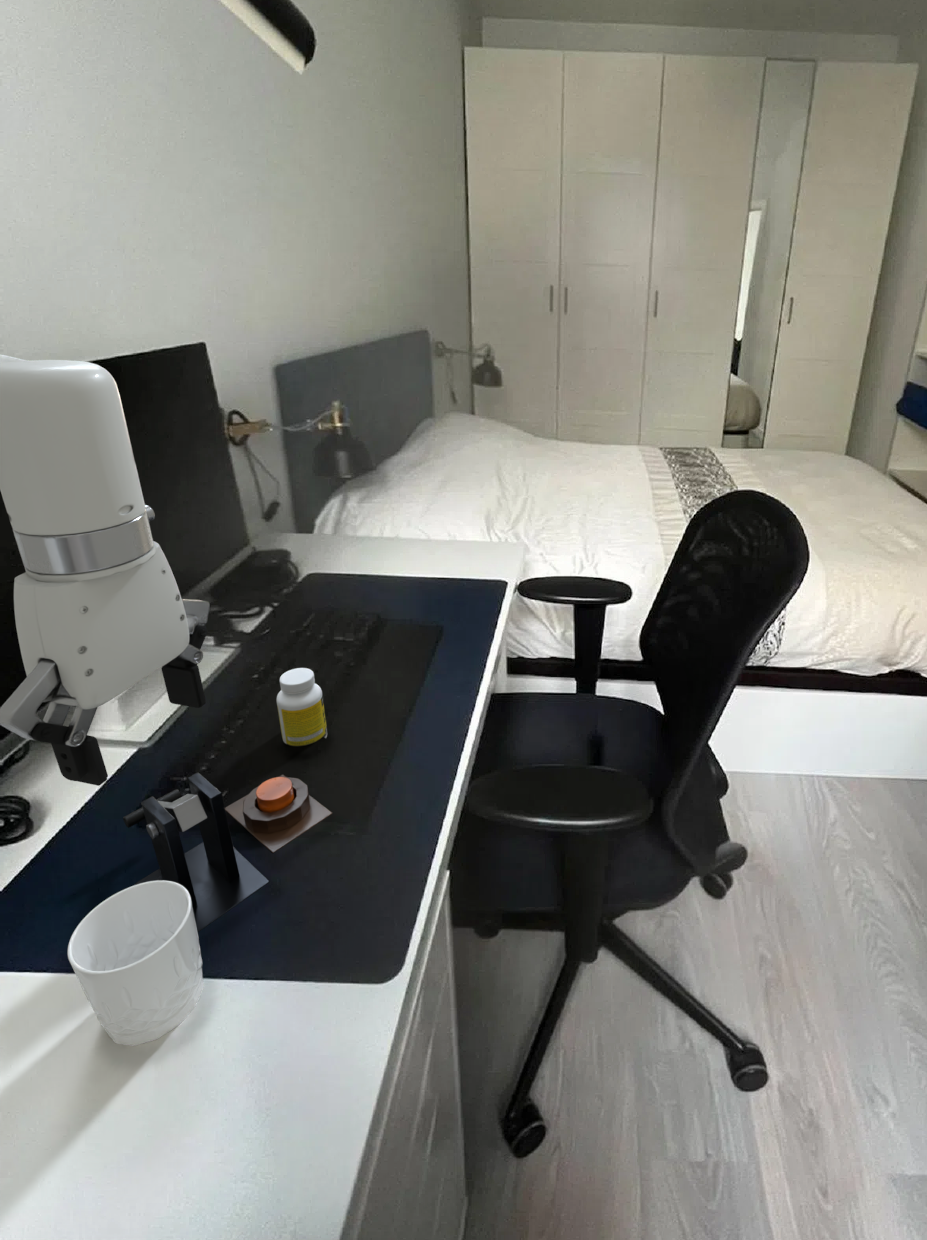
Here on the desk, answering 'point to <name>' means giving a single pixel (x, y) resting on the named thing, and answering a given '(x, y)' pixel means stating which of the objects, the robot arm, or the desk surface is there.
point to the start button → (275, 794)
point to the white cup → (140, 961)
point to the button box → (279, 816)
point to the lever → (175, 810)
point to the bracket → (202, 857)
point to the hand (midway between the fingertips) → (142, 738)
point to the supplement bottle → (301, 708)
